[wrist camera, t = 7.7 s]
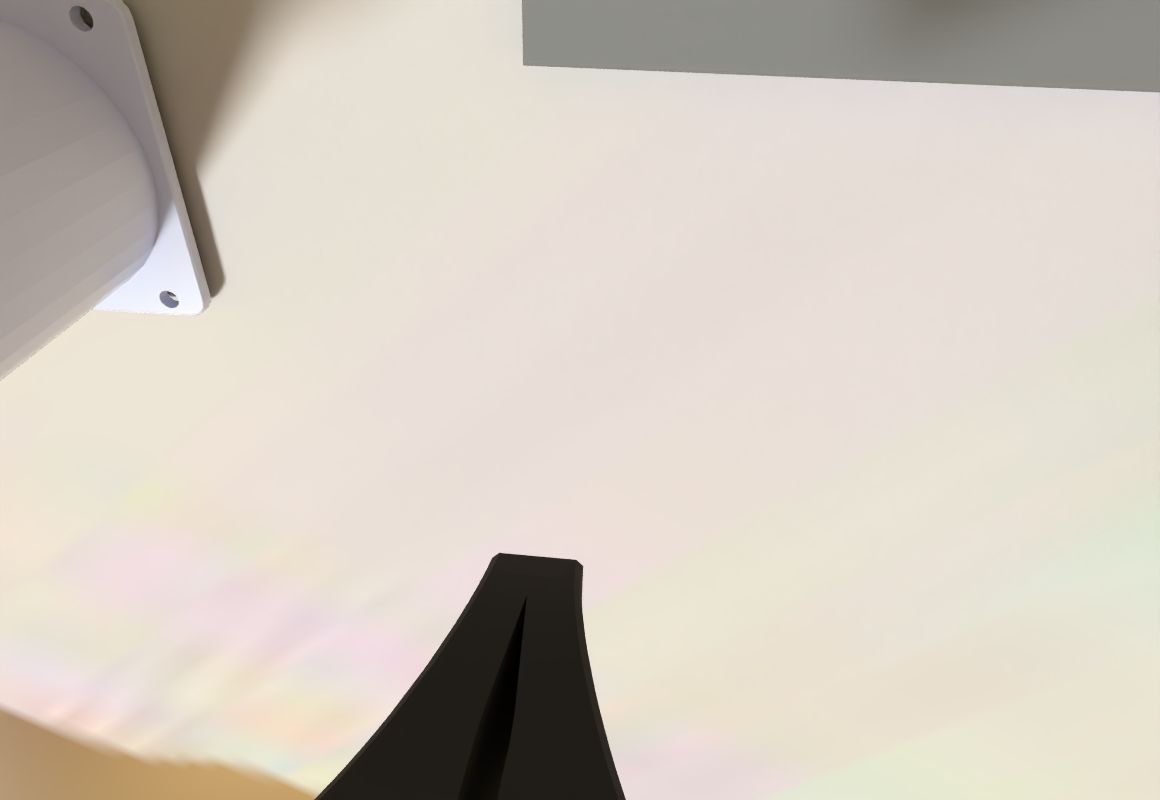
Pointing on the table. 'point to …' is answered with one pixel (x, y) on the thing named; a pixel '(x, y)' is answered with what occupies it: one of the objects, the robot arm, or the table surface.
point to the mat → (859, 39)
